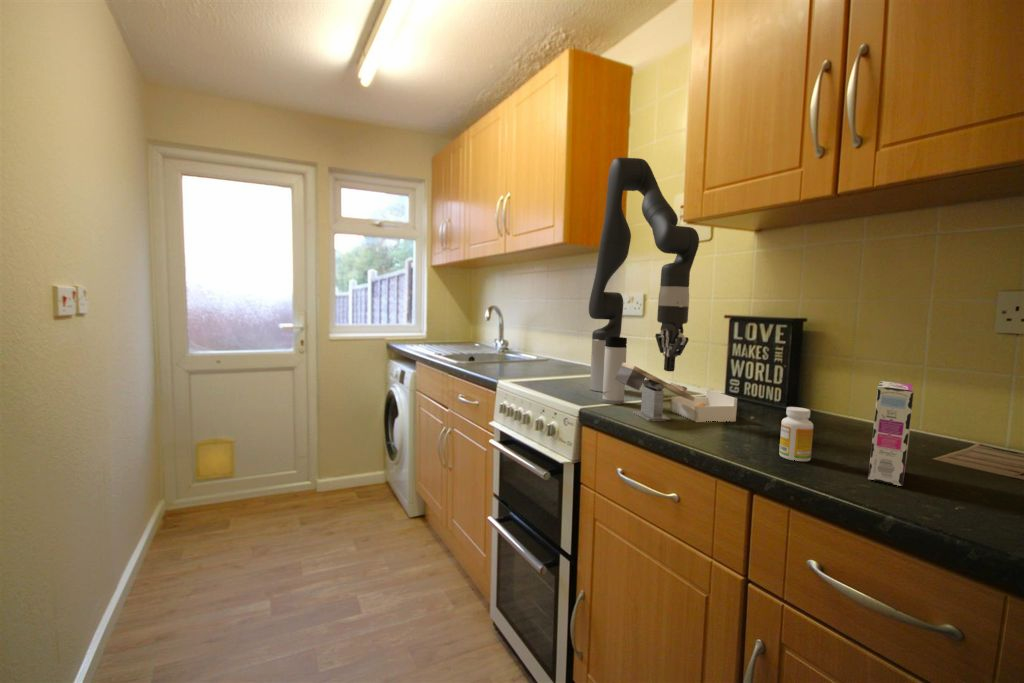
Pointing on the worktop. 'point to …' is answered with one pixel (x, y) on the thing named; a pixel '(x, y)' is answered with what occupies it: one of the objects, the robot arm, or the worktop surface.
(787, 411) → the supplement bottle
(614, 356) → the travel mug
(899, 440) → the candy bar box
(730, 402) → the tray
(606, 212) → the robot arm
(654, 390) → the fulcrum
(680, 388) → the lever
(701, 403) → the ball
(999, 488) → the worktop surface
